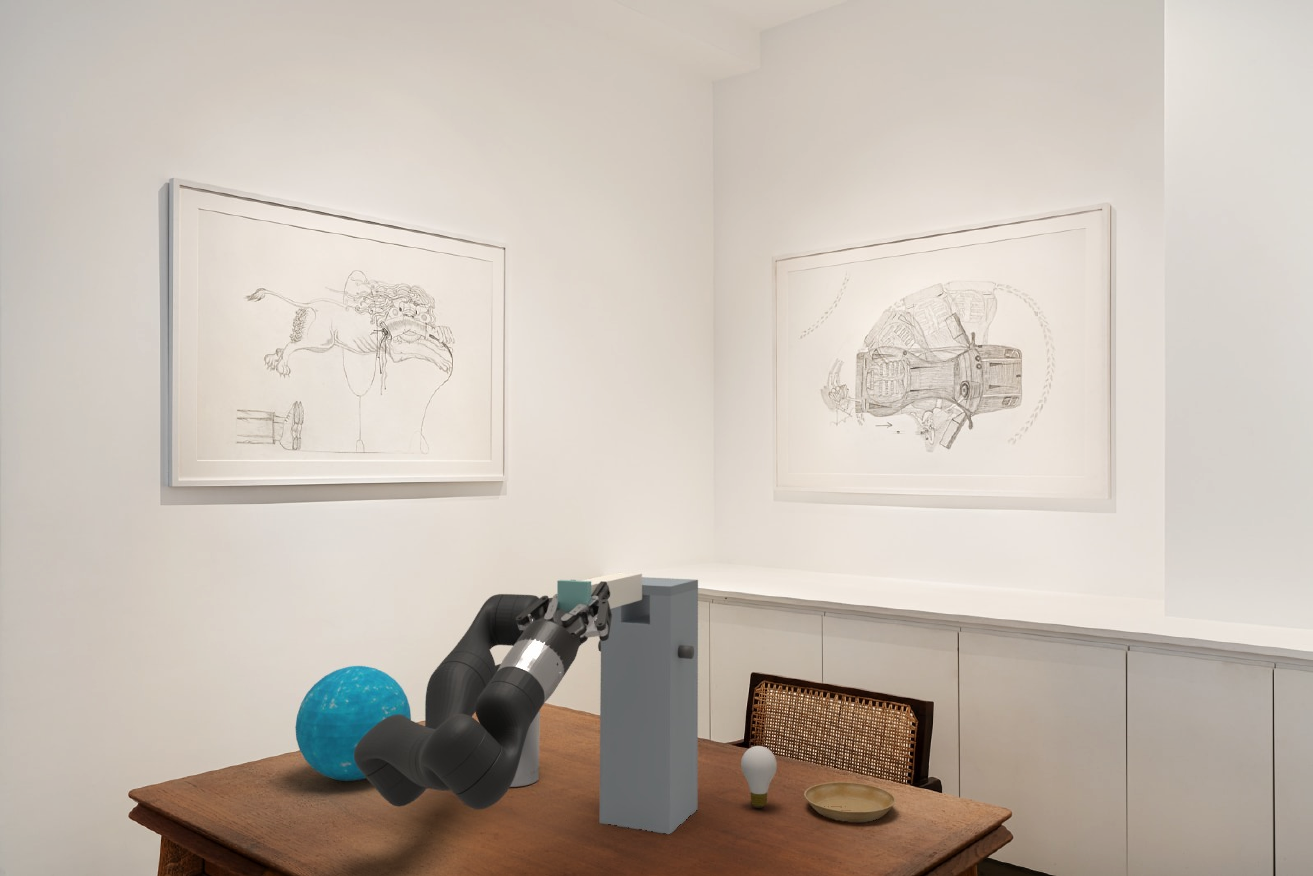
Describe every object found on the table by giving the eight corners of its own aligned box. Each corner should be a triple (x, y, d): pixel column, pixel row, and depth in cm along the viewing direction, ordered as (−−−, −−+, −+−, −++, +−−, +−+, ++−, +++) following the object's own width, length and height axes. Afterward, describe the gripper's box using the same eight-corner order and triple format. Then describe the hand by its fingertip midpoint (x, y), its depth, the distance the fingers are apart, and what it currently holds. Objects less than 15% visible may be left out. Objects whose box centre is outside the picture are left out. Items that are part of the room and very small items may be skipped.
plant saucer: (839, 834, 142) (839, 816, 142) (787, 804, 155) (787, 788, 156) (915, 820, 148) (914, 803, 148) (858, 792, 162) (858, 777, 162)
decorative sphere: (360, 802, 154) (363, 681, 155) (268, 788, 162) (271, 672, 163) (432, 769, 173) (434, 661, 174) (346, 757, 180) (348, 654, 181)
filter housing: (588, 821, 146) (590, 582, 148) (620, 798, 157) (622, 576, 159) (681, 836, 140) (682, 587, 142) (708, 811, 151) (709, 580, 153)
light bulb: (780, 804, 155) (779, 743, 155) (772, 816, 149) (772, 753, 150) (745, 800, 157) (745, 740, 157) (737, 811, 151) (737, 749, 152)
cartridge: (557, 614, 127) (557, 580, 127) (616, 598, 144) (616, 568, 144) (587, 616, 125) (587, 582, 125) (643, 599, 142) (643, 569, 143)
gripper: (579, 645, 113) (630, 565, 127) (480, 637, 118) (540, 561, 132) (592, 693, 116) (641, 610, 130) (496, 682, 121) (552, 604, 135)
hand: (590, 586), depth 131 cm, fingers closed on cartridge, 4 cm apart
